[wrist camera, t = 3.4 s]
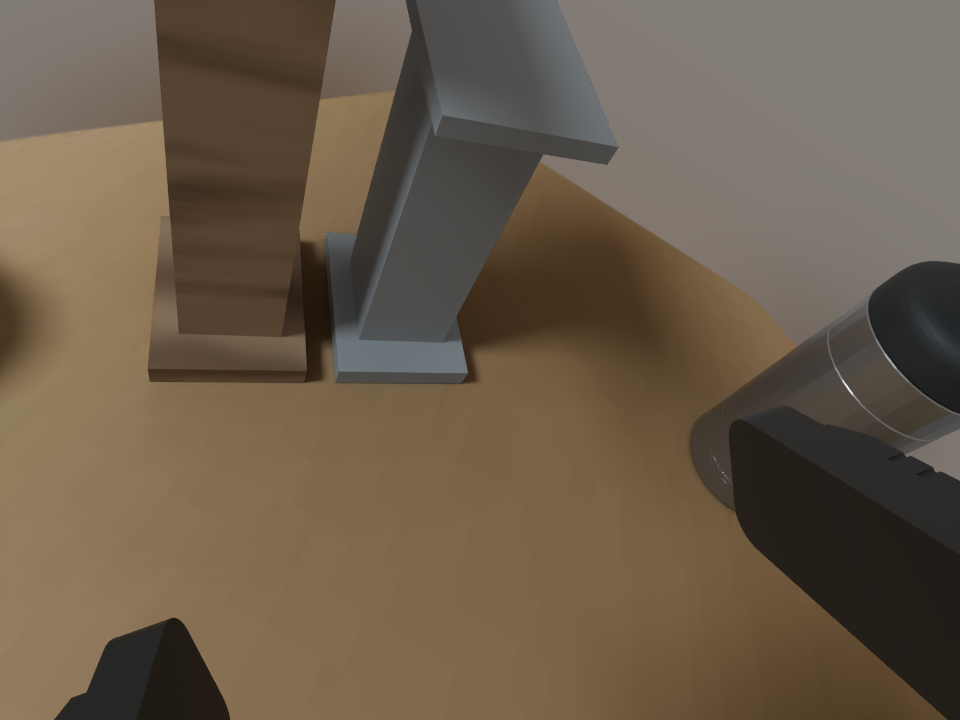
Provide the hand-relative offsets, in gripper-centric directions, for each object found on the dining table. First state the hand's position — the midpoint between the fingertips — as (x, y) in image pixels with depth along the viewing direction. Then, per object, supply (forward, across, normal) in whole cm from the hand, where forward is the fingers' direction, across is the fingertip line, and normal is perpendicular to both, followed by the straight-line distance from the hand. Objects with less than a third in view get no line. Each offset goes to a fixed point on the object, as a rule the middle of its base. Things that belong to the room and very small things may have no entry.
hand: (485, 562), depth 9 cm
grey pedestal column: (+38, -2, +7) cm, 39 cm away
